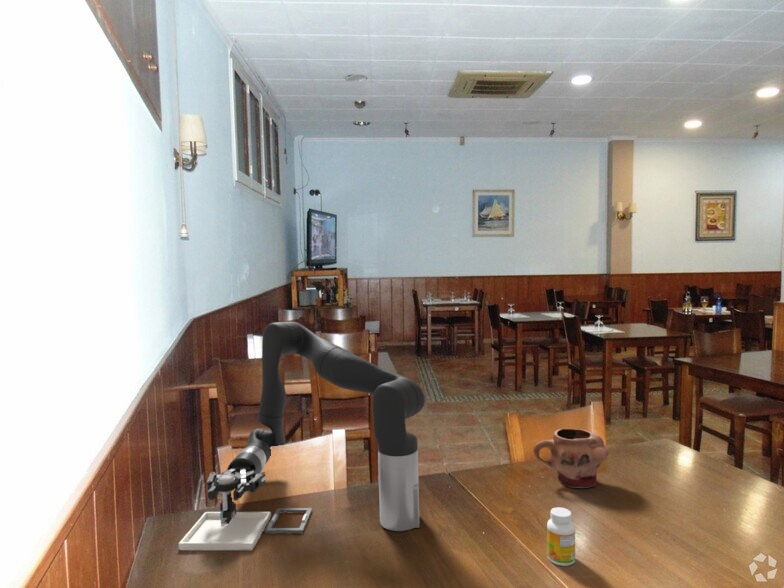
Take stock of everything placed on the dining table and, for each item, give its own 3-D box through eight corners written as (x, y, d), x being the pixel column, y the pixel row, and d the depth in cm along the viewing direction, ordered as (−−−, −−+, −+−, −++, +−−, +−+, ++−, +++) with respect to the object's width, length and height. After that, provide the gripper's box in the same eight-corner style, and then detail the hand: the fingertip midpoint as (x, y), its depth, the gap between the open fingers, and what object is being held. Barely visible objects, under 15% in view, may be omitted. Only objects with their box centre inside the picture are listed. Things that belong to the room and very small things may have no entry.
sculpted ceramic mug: (544, 495, 130) (543, 442, 130) (527, 476, 143) (526, 427, 142) (618, 490, 132) (618, 437, 131) (595, 471, 144) (595, 423, 144)
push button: (234, 528, 112) (232, 484, 111) (210, 528, 112) (208, 484, 111) (242, 513, 119) (241, 471, 118) (220, 513, 119) (218, 472, 118)
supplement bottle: (543, 552, 104) (542, 506, 104) (568, 550, 105) (568, 504, 104) (553, 567, 99) (553, 519, 99) (580, 565, 100) (579, 517, 99)
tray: (271, 517, 122) (270, 511, 122) (252, 550, 108) (252, 543, 108) (205, 518, 122) (205, 511, 122) (178, 550, 108) (178, 543, 108)
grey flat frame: (312, 511, 125) (311, 506, 125) (302, 533, 114) (302, 528, 114) (277, 511, 125) (277, 506, 125) (265, 533, 114) (264, 528, 114)
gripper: (219, 451, 130) (190, 480, 113) (274, 451, 130) (253, 480, 113) (220, 479, 131) (192, 512, 114) (275, 479, 130) (255, 512, 113)
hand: (223, 496), depth 113 cm, fingers closed on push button, 5 cm apart
